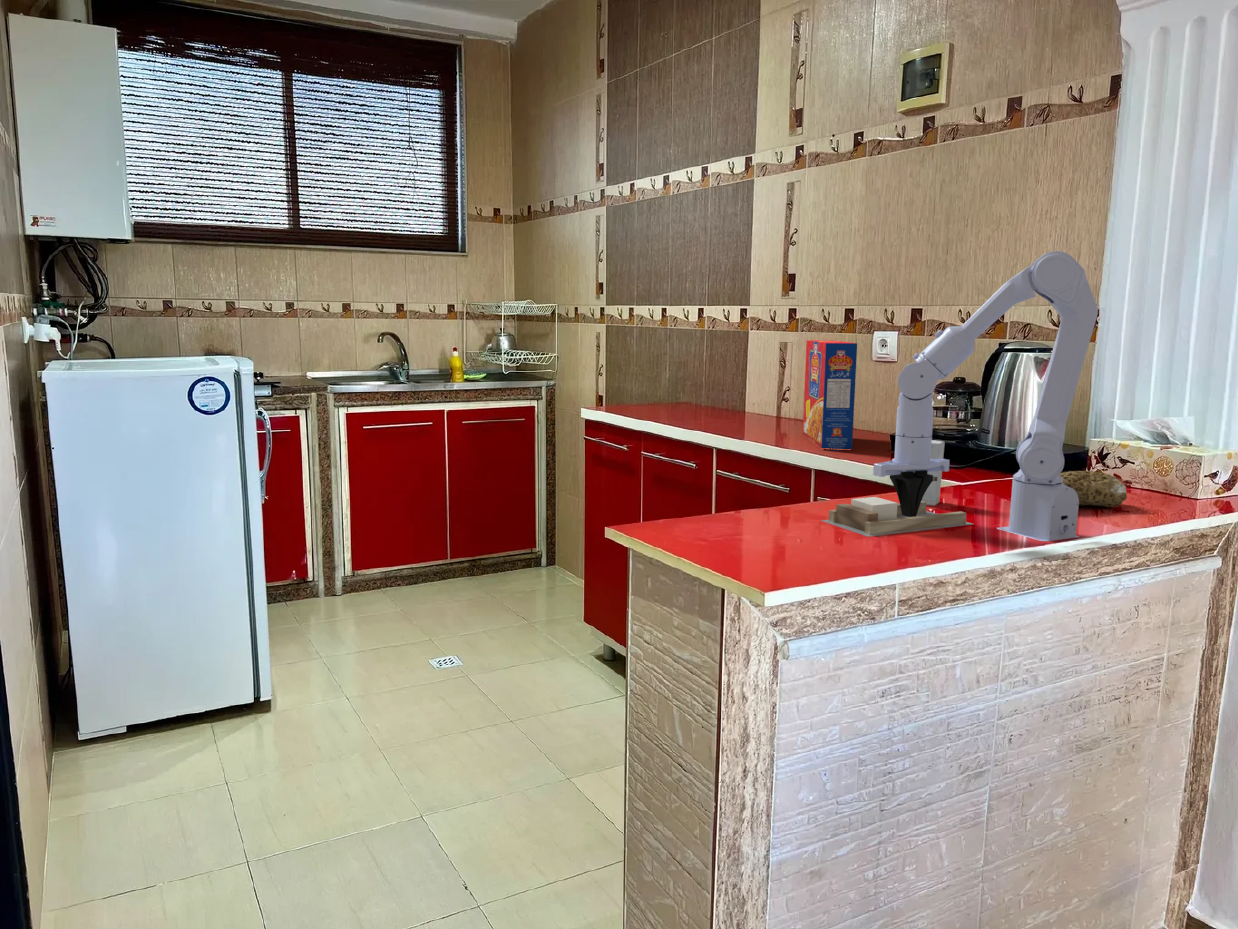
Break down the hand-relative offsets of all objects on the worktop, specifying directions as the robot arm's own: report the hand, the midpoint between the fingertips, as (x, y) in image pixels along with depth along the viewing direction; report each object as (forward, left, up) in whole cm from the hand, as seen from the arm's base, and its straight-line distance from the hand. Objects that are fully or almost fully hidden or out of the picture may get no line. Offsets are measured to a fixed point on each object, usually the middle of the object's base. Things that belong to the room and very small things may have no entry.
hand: (908, 515), depth 149 cm
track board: (0, +3, -2) cm, 3 cm away
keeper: (0, +8, -1) cm, 8 cm away
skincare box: (+12, -13, -2) cm, 18 cm away
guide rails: (0, +3, -2) cm, 3 cm away
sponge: (0, -37, -2) cm, 38 cm away
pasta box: (+87, -48, -2) cm, 99 cm away
